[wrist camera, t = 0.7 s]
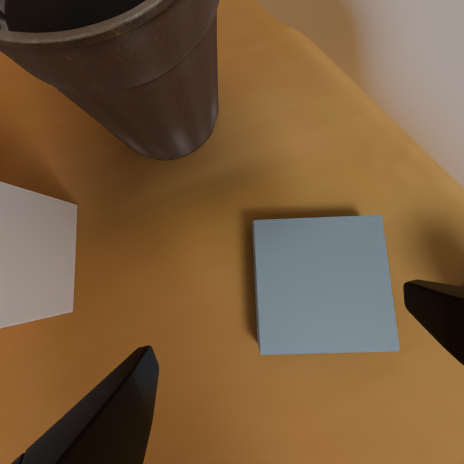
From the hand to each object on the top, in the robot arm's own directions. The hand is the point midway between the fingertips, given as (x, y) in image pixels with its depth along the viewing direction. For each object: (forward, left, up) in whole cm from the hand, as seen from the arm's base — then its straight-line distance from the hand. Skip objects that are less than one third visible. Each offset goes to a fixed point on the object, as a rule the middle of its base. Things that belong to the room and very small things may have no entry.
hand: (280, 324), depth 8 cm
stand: (+2, -6, -16) cm, 17 cm away
